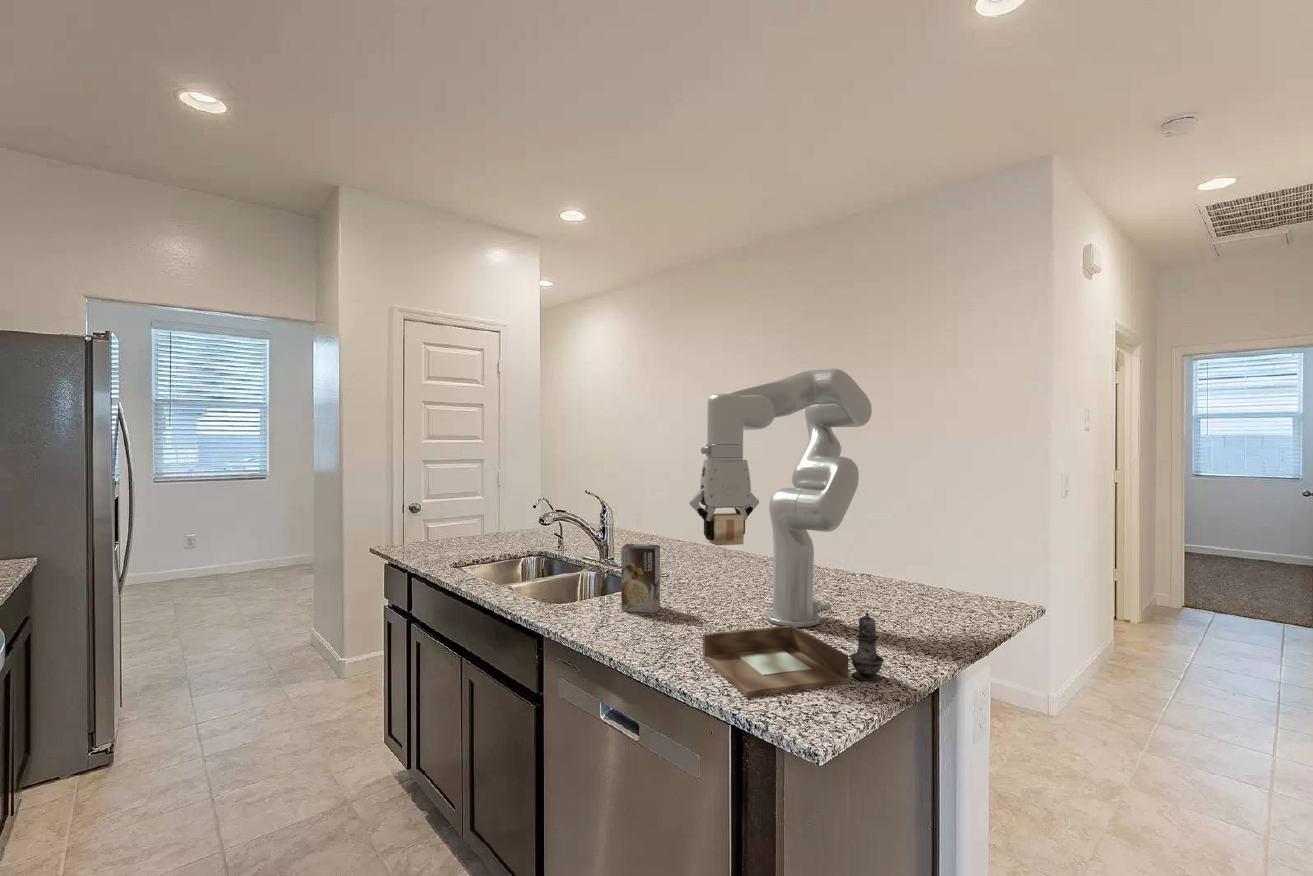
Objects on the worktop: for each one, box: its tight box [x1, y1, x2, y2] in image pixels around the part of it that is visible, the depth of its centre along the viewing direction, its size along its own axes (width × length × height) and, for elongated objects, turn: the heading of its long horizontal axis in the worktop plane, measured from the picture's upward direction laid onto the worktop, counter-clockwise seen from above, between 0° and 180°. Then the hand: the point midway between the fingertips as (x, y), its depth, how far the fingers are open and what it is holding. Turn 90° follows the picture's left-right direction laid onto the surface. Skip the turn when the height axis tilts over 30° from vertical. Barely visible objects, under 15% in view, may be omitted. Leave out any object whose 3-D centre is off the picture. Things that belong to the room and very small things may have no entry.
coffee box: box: [620, 543, 661, 614], centre depth 160 cm, size 9×6×16 cm
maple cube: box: [705, 511, 745, 546], centre depth 132 cm, size 6×6×6 cm
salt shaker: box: [849, 611, 885, 684], centre depth 115 cm, size 6×6×12 cm
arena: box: [702, 625, 849, 698], centre depth 118 cm, size 20×19×5 cm
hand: (724, 538), depth 132 cm, fingers closed on maple cube, 6 cm apart
